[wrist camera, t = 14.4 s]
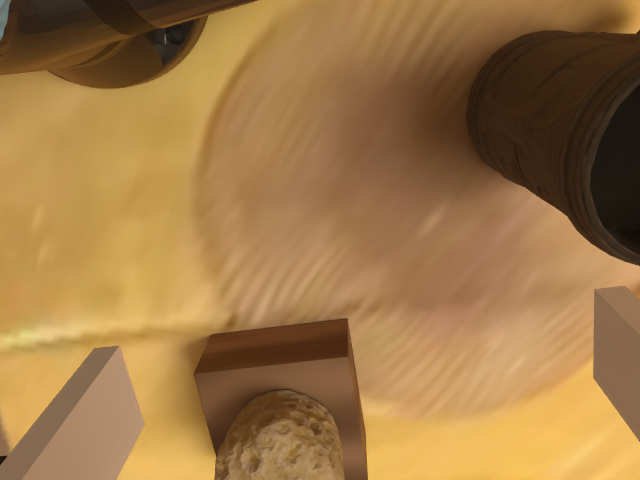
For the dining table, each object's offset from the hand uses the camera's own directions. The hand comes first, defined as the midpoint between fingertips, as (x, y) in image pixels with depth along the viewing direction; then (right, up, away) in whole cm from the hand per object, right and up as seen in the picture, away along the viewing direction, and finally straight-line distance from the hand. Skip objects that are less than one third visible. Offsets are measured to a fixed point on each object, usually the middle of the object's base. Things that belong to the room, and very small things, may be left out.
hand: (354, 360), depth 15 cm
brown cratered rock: (-4, -12, +29) cm, 31 cm away
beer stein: (+17, +15, +25) cm, 33 cm away
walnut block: (-4, -10, +34) cm, 36 cm away
